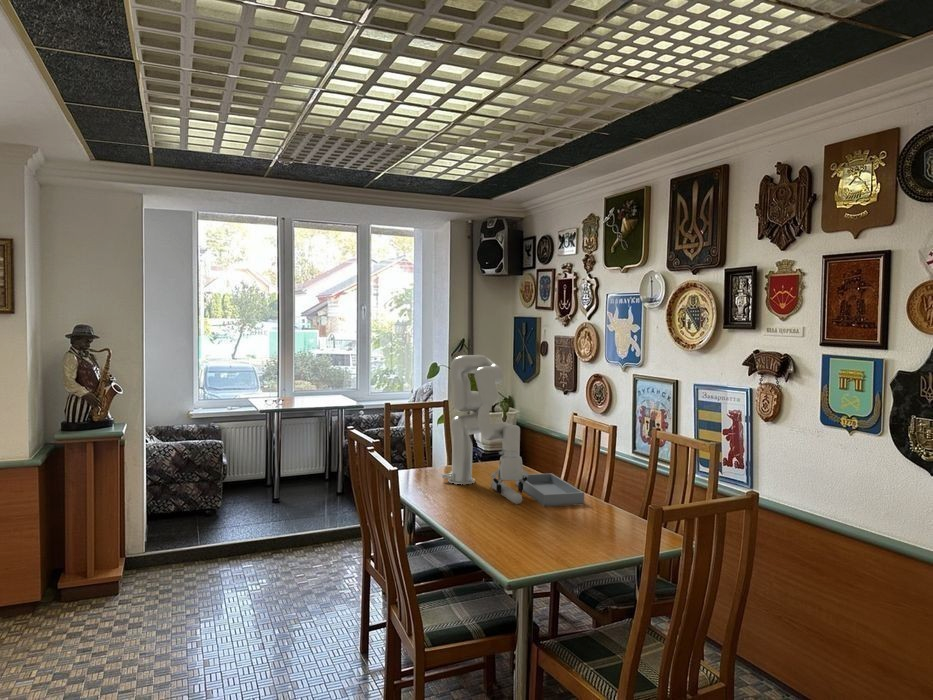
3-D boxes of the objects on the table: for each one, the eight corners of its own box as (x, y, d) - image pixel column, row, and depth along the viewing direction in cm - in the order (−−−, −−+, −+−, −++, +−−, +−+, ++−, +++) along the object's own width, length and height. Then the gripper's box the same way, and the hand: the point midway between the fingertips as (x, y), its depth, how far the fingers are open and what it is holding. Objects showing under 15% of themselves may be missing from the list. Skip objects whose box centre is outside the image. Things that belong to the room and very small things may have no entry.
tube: (526, 495, 259) (502, 480, 282) (515, 492, 257) (492, 477, 280) (522, 507, 258) (499, 491, 282) (511, 504, 257) (488, 488, 280)
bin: (544, 506, 256) (544, 494, 256) (515, 485, 289) (515, 474, 288) (583, 504, 261) (584, 492, 260) (551, 483, 293) (551, 473, 293)
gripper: (494, 456, 263) (493, 496, 264) (532, 454, 268) (531, 494, 268) (489, 452, 270) (488, 491, 271) (526, 451, 275) (525, 489, 276)
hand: (509, 492), depth 270 cm, fingers open, 9 cm apart
